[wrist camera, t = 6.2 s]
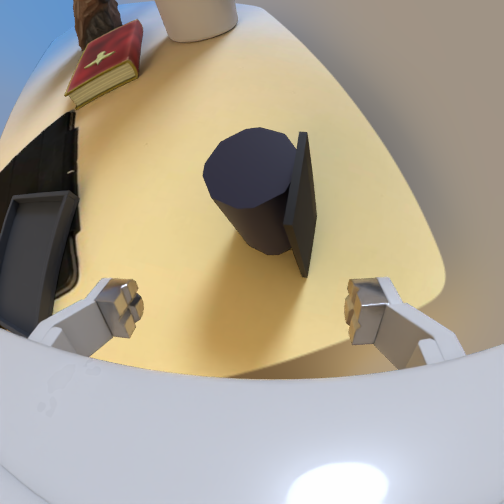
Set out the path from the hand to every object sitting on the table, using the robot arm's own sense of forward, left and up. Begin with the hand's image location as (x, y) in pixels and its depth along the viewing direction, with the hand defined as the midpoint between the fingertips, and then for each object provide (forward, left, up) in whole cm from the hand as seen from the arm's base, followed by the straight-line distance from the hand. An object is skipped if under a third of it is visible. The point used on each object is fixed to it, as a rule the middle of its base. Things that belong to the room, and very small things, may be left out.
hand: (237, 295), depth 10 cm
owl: (+57, +45, -11) cm, 73 cm away
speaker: (+7, 0, -11) cm, 13 cm away
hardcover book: (+38, +31, -11) cm, 50 cm away
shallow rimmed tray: (+1, +29, -11) cm, 31 cm away
